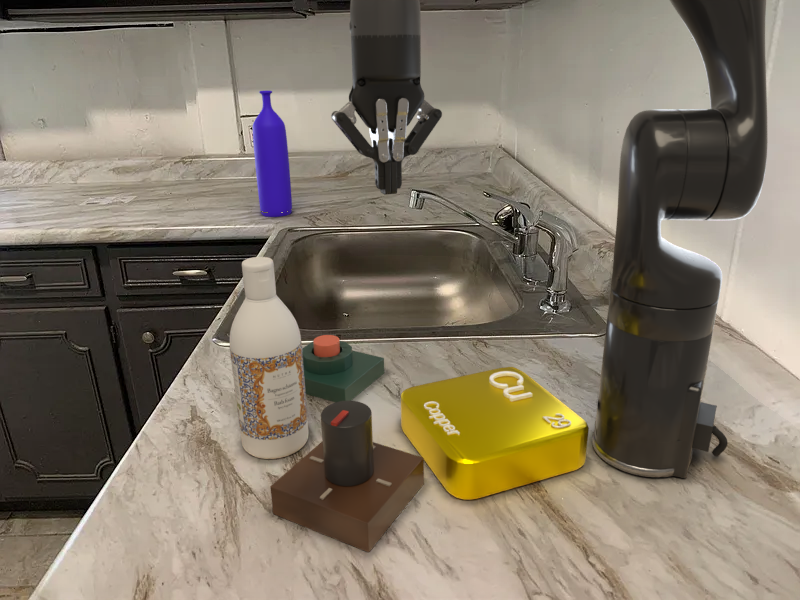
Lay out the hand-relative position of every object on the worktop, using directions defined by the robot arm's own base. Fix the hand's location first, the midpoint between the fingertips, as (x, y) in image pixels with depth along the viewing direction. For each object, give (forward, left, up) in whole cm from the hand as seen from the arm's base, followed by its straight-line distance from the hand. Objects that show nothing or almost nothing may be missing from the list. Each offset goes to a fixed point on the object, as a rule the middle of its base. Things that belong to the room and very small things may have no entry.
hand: (388, 192), depth 74 cm
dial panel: (-10, +25, -23) cm, 35 cm away
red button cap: (+5, +7, -19) cm, 21 cm away
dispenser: (+5, +7, -23) cm, 24 cm away
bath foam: (+2, +21, -23) cm, 31 cm away
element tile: (-18, +11, -23) cm, 31 cm away
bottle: (+68, -60, -23) cm, 94 cm away
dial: (-10, +25, -20) cm, 33 cm away
